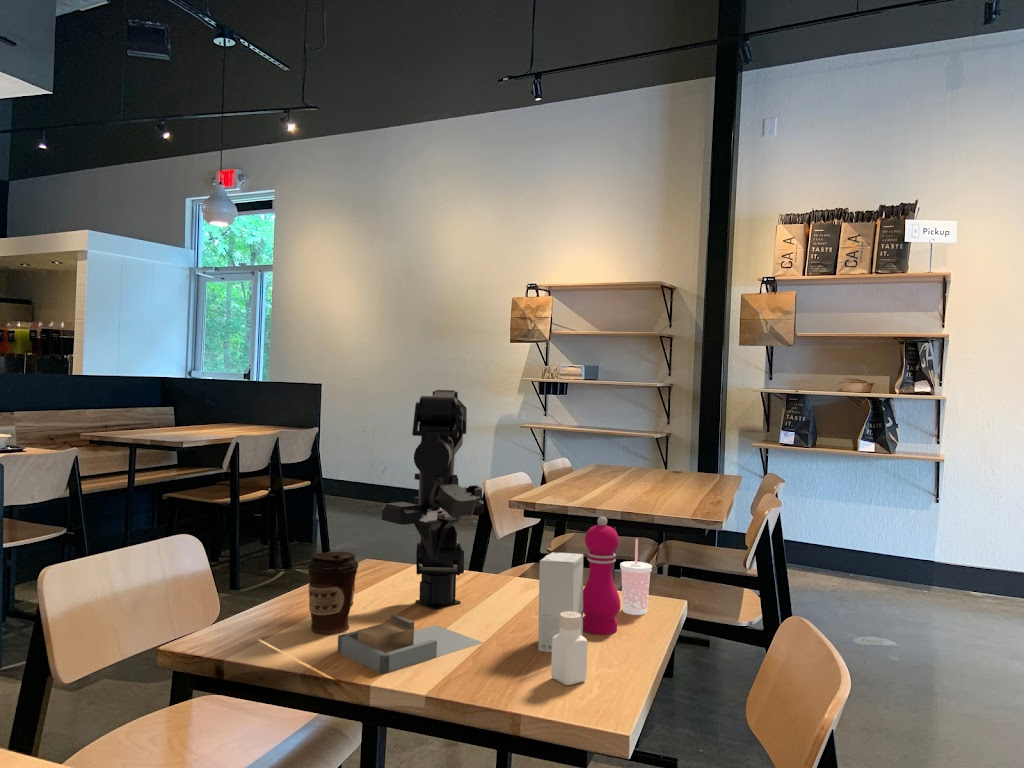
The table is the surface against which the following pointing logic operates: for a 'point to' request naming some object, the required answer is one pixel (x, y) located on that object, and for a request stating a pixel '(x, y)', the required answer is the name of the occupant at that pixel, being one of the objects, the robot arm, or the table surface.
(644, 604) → the beverage cup
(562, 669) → the salt shaker
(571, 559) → the skincare box
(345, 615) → the coffee cup
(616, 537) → the pepper mill
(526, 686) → the table surface
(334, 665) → the table surface
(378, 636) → the block
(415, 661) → the dock
